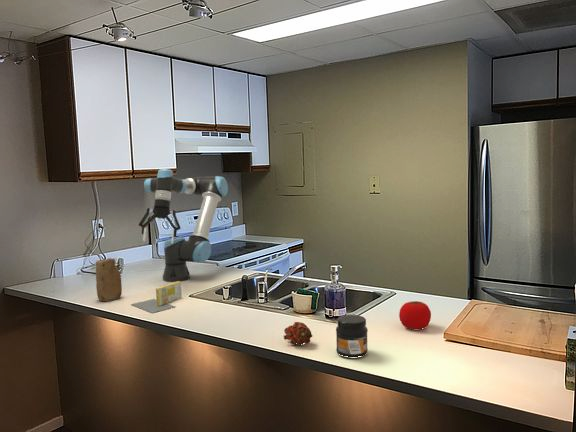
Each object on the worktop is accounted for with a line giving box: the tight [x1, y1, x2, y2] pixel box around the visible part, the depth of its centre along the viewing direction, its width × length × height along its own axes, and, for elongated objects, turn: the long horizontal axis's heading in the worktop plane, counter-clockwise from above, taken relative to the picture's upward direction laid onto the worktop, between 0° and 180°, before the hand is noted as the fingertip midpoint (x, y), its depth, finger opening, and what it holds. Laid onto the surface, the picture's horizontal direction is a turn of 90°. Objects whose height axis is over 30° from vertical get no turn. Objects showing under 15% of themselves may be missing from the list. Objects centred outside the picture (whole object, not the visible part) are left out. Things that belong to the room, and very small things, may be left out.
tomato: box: [398, 300, 432, 330], centre depth 188 cm, size 12×12×10 cm
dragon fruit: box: [283, 321, 313, 346], centre depth 175 cm, size 8×8×12 cm
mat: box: [130, 298, 176, 314], centre depth 227 cm, size 12×20×1 cm, turn 44°
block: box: [95, 258, 123, 302], centre depth 239 cm, size 11×8×20 cm
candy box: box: [155, 281, 183, 306], centre depth 232 cm, size 16×2×8 cm, turn 154°
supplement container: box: [335, 314, 369, 357], centre depth 164 cm, size 10×10×12 cm
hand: (158, 242), depth 243 cm, fingers open, 13 cm apart
